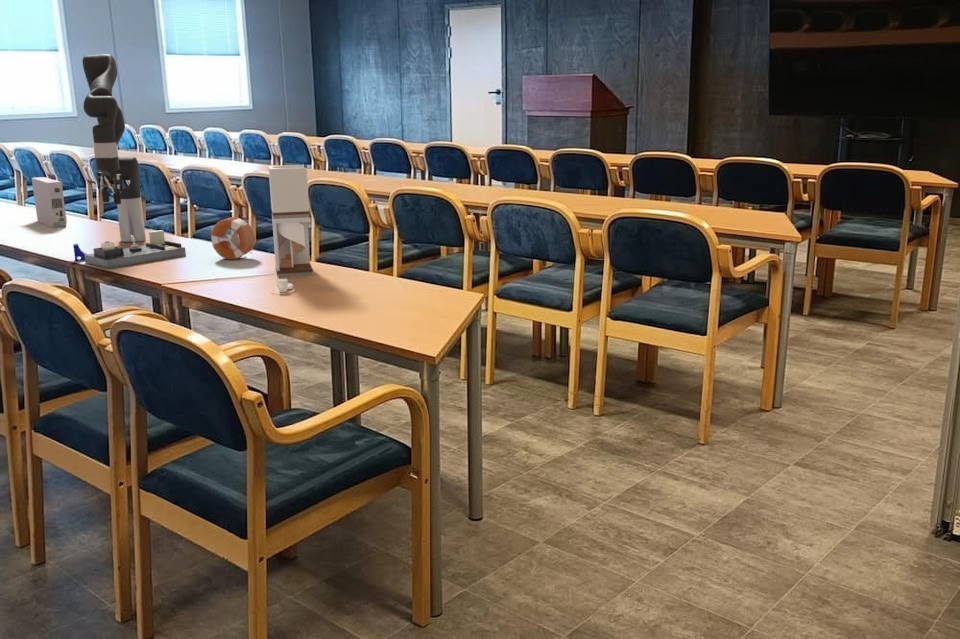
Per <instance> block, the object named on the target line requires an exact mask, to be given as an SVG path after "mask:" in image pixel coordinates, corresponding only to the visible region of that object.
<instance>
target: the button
mask: <svg viewBox="0 0 960 639" xmlns="http://www.w3.org/2000/svg"><path fill="white" fill-rule="evenodd" d="M106 242H107V241H106ZM100 248H101V249H102V250H111V249H115V242H110V241H109V242H107V243H105V242H102V243H101V244H100Z"/></svg>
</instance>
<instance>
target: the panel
mask: <svg viewBox="0 0 960 639" xmlns="http://www.w3.org/2000/svg"><path fill="white" fill-rule="evenodd" d="M84 256H85V261H84V262H85V264H87V265H88V264H89V265H91V266H95V267H98V268H99V267H100V268H103V269H106V270H108V269H109V270H110V269H115V268H119V267H127V266H132V265H139V264H145V263H151V262H156V261H160V260H161V261H163V260H168V258H169V259H173V258H178V257H185V256H187V254H186V247H185V246H182V243H180V242H179V243H178V242H174V241H169V240H165V244H161V245H156V244H151V243H150V242H145V244H144V245H139V247H135V248H132V247H131V246H130V247H126V248H124V247H120V246H115V249H111V250H102V249H101V247H97V248H96V247H95V248H93V252H92V253H86V255H84Z"/></svg>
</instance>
